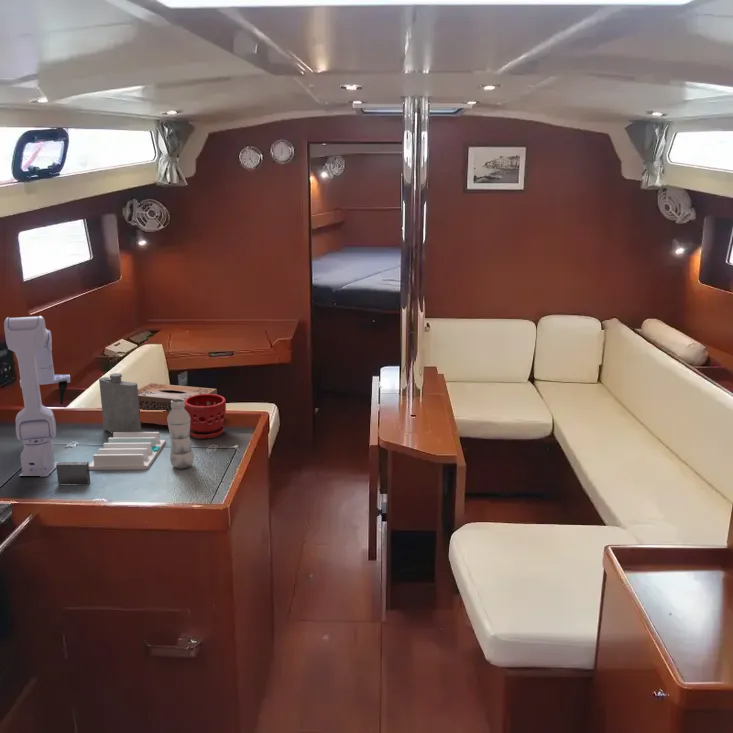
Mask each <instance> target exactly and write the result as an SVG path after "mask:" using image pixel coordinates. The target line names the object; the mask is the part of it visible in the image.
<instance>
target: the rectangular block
mask: <svg viewBox="0 0 733 733" xmlns="http://www.w3.org/2000/svg"><path fill="white" fill-rule="evenodd" d="M57 462H58V463H57V464H56V468H55V470H56V474H57V483H58V484H88V485H89V484H90V483H91V474H90V470H89V465H90V463H89V461H57Z"/></svg>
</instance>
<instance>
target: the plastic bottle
mask: <svg viewBox="0 0 733 733" xmlns="http://www.w3.org/2000/svg"><path fill="white" fill-rule="evenodd" d="M184 407H185V403H184V400H183V399H174V400H172V401H171V408H172V410H171V411H170V413H169V414H168V416H167V423H168V426H167V427H168V431H169V437H170V453H169V454H170V455H169V461H170V465H171V466H172V467H173V468H174V469H189V467H192V465H193V463H194V458H195V457H194V452H193V450H192V445H191V437H190V415H189V413H188V412H187V411H186V410H185V409H184Z"/></svg>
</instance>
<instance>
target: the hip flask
mask: <svg viewBox="0 0 733 733" xmlns="http://www.w3.org/2000/svg"><path fill="white" fill-rule="evenodd" d="M122 377H123V376H122V373H120V372H118V373H112V374H109V377H106V376H104V377H100V378H99V379H98V382H99V392H100V393H99V394H100V402H101V409H102V410H101V413H102V423H103V424H102V425H103V430H104V431H105V430H107V431H109V432H112V433H114V432H142V423H141V422H140V410H139V398H138V389H139V388H138V387H139V386H138V383H137V382H133V381H124V380H122ZM107 431H106V432H107ZM109 432H108V433H109ZM112 433H111V434H112Z"/></svg>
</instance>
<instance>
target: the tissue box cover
mask: <svg viewBox="0 0 733 733" xmlns="http://www.w3.org/2000/svg"><path fill="white" fill-rule="evenodd" d="M199 394H216V395H218V390H217V388H209V387H201V386H200V387H199V386H186V385H176V384H175V385H174V384H164V383H154V382H151V383H149V384H147V385H144V386H143V387H140V388H138V398H139V409H143V410H166V411H163V412H167V413H170V411H171V410H172V408H171V401H172V400H174V399H183V400H184V401H185V399H186V398H188V397H190V396H194V395H199ZM206 404H207V405H210V402H209V401H207V402H206ZM214 404H216V403H215V402H214ZM196 405H198V402H197V403H196Z"/></svg>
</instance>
